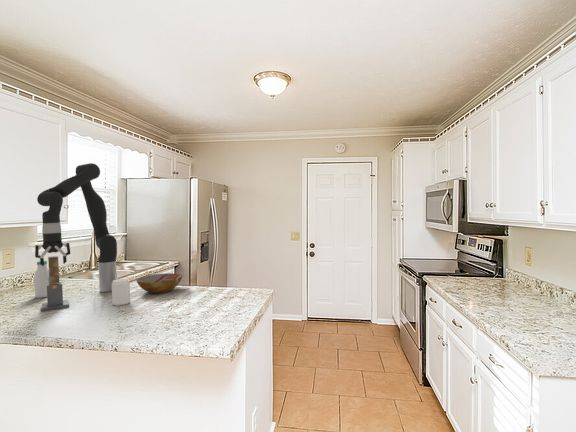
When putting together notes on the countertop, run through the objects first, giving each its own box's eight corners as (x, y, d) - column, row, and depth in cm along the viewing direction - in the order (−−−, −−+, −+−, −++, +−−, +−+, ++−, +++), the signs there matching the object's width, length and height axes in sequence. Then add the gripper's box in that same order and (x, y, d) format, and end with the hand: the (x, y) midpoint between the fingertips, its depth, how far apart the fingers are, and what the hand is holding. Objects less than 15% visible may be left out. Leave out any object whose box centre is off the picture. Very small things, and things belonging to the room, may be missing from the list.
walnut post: (59, 289, 168) (58, 255, 167) (59, 290, 164) (58, 256, 164) (49, 290, 165) (48, 256, 165) (49, 292, 162) (48, 257, 162)
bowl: (167, 297, 177) (167, 282, 176) (126, 296, 182) (125, 282, 182) (190, 286, 201) (190, 273, 201) (153, 285, 206) (153, 273, 206)
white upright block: (108, 305, 166) (107, 281, 165) (123, 300, 173) (122, 278, 173) (119, 306, 162) (118, 282, 162) (133, 302, 169) (132, 279, 169)
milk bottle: (45, 298, 183) (43, 262, 183) (31, 298, 184) (29, 262, 183) (55, 294, 191) (53, 259, 191) (42, 294, 191) (40, 260, 191)
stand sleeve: (68, 302, 173) (67, 280, 172) (69, 307, 164) (68, 284, 163) (42, 306, 166) (41, 283, 166) (41, 311, 157) (40, 287, 157)
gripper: (68, 230, 171) (70, 262, 172) (34, 232, 163) (36, 265, 163) (69, 231, 165) (71, 263, 165) (33, 233, 157) (35, 267, 157)
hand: (53, 264), depth 164 cm, fingers open, 8 cm apart
